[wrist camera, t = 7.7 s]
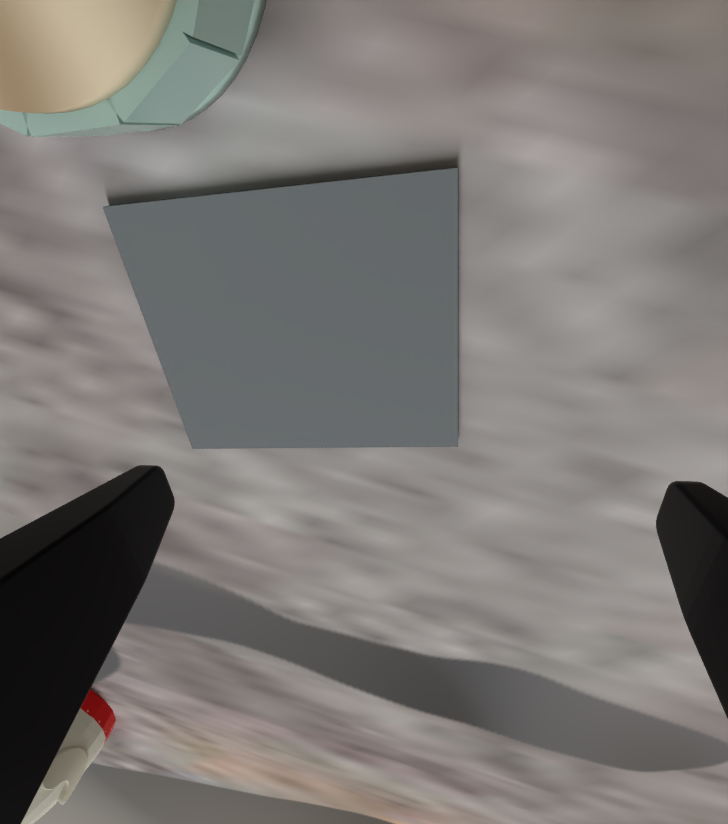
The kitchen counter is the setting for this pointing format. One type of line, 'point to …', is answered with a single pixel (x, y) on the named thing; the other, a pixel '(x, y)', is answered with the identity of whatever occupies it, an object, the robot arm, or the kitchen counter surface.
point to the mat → (304, 310)
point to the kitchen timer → (73, 755)
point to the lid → (74, 50)
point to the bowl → (165, 75)
